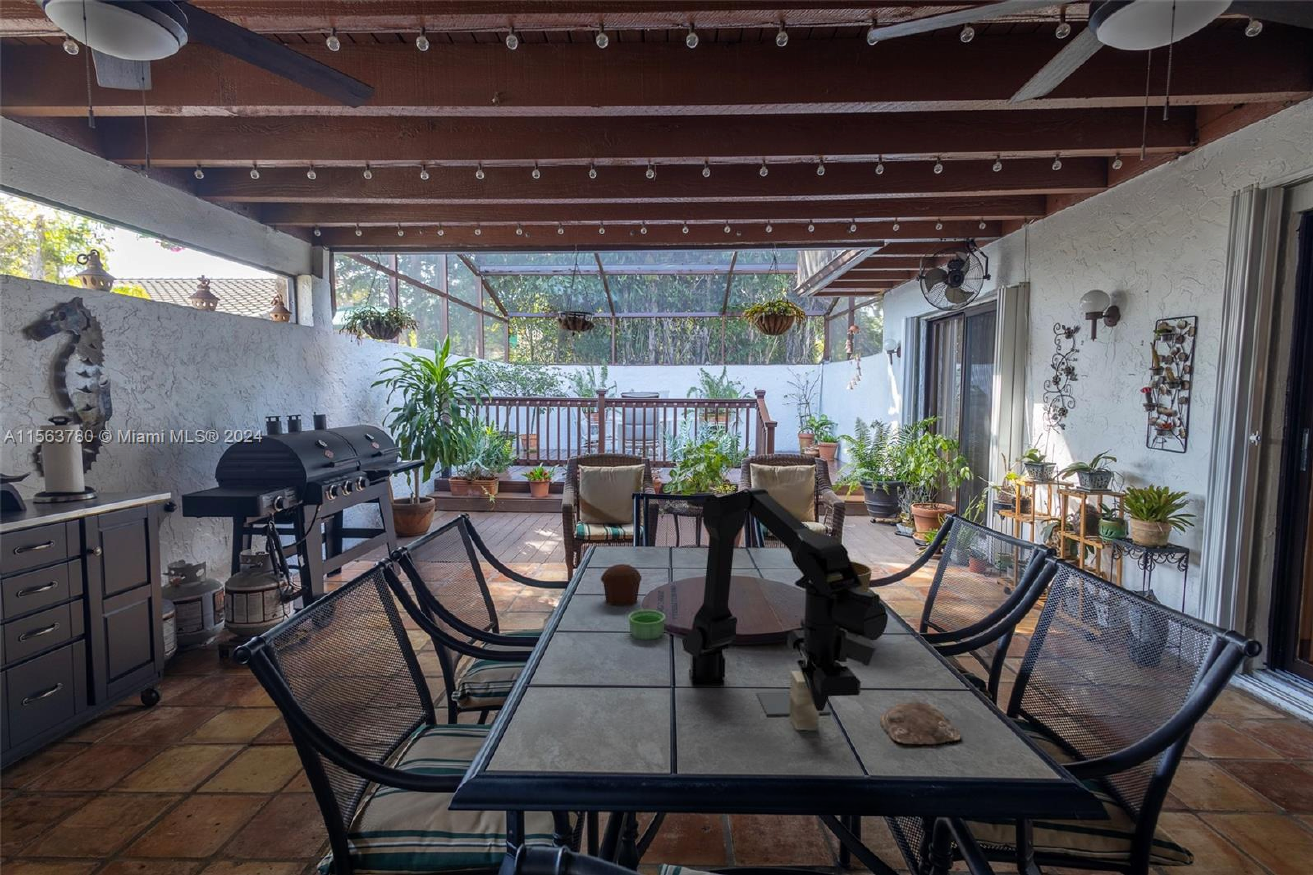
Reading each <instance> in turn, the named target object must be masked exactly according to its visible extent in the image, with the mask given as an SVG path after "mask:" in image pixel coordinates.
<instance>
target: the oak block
mask: <svg viewBox="0 0 1313 875" xmlns="http://www.w3.org/2000/svg"><path fill="white" fill-rule="evenodd" d="M789 691H790V715H789V720H790V721H791V724H792V725H793V727H794V729H796V730H806V731H819V725H820V724H819V723H820V721H819V720H820V719H819V718H820V714H819V711H817V710H816V708H815V706H814V703H813V701H812V698H811V695H810V693H809V690H808V687H807V685H806V682H805V680H804V677H803V675H802V672H801V670H791V671H790V690H789ZM809 729H810V730H809ZM796 730H795V731H796Z"/></svg>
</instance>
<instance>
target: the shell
mask: <svg viewBox="0 0 1313 875" xmlns="http://www.w3.org/2000/svg"><path fill="white" fill-rule="evenodd" d="M880 724H881V727H882V729H883V731H884V730H885V731H884V732H885V733H886V732H887V733H886V734H887V735H888V734H889V735H888V737H889V738H891V739H892V740H893V742H895V744H900V743H902V744H903V745H905V746H912V747H915V748H923V747H924V746H925V747H938V746H945V745H954V744H958V743H961V741H962V735H961V733H960V731H959V730H958V728H957V727H956V726H955V724H954V723H953V722H952V721H951V720H950V719H949V718H948V717H947V716H945V715H944V714H943V713H942V712H941V711H940V710H939V709H937V708H936V707H935V706H933V705H930V704H927V703H924V702H919V701H918V702H917V701H909V702H903V703H900V704H896V705H895V706H892V707H890V708H889V709H887V710H886V711H885V712H884V713H883V714H882V715H881V717H880ZM900 745H901V744H900Z"/></svg>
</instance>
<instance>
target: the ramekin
mask: <svg viewBox="0 0 1313 875" xmlns="http://www.w3.org/2000/svg"><path fill="white" fill-rule="evenodd" d="M665 620H666V615H665V614H664V613H663V612H661V611H658V610H653V609H641V610H636V611H633V612H631V613H629V615H628V621H629V630H630V635H631V636H633V637H634V638H636V639H637V640H638V639H640V640H645V641H646V640H648V641H649V640H655V639H658V638H660V637H662V636H663V634H664V628H665Z"/></svg>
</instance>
